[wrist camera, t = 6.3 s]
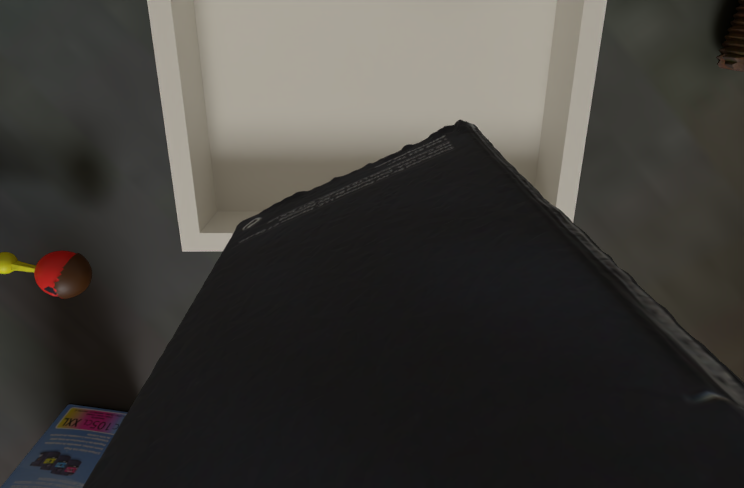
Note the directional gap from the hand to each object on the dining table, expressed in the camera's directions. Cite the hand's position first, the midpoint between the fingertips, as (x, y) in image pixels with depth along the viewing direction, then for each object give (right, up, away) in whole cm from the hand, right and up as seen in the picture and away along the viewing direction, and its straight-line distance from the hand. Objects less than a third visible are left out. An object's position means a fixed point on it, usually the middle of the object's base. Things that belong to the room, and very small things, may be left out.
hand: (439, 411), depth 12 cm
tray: (-1, +13, +17) cm, 21 cm away
